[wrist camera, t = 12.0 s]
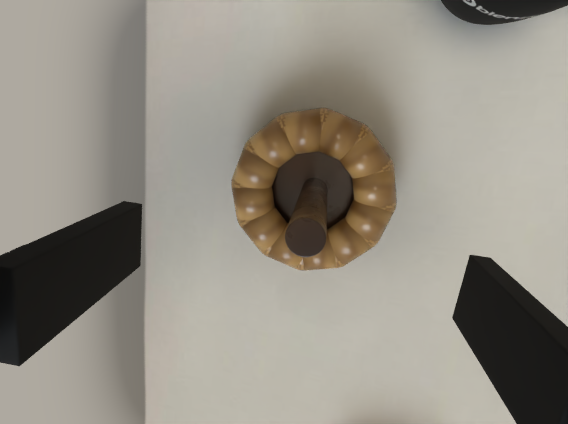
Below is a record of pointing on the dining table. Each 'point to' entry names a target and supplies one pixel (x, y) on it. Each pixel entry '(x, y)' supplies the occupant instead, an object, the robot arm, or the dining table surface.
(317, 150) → the segmented ring
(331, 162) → the peg
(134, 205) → the robot arm
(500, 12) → the mug
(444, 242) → the dining table surface
